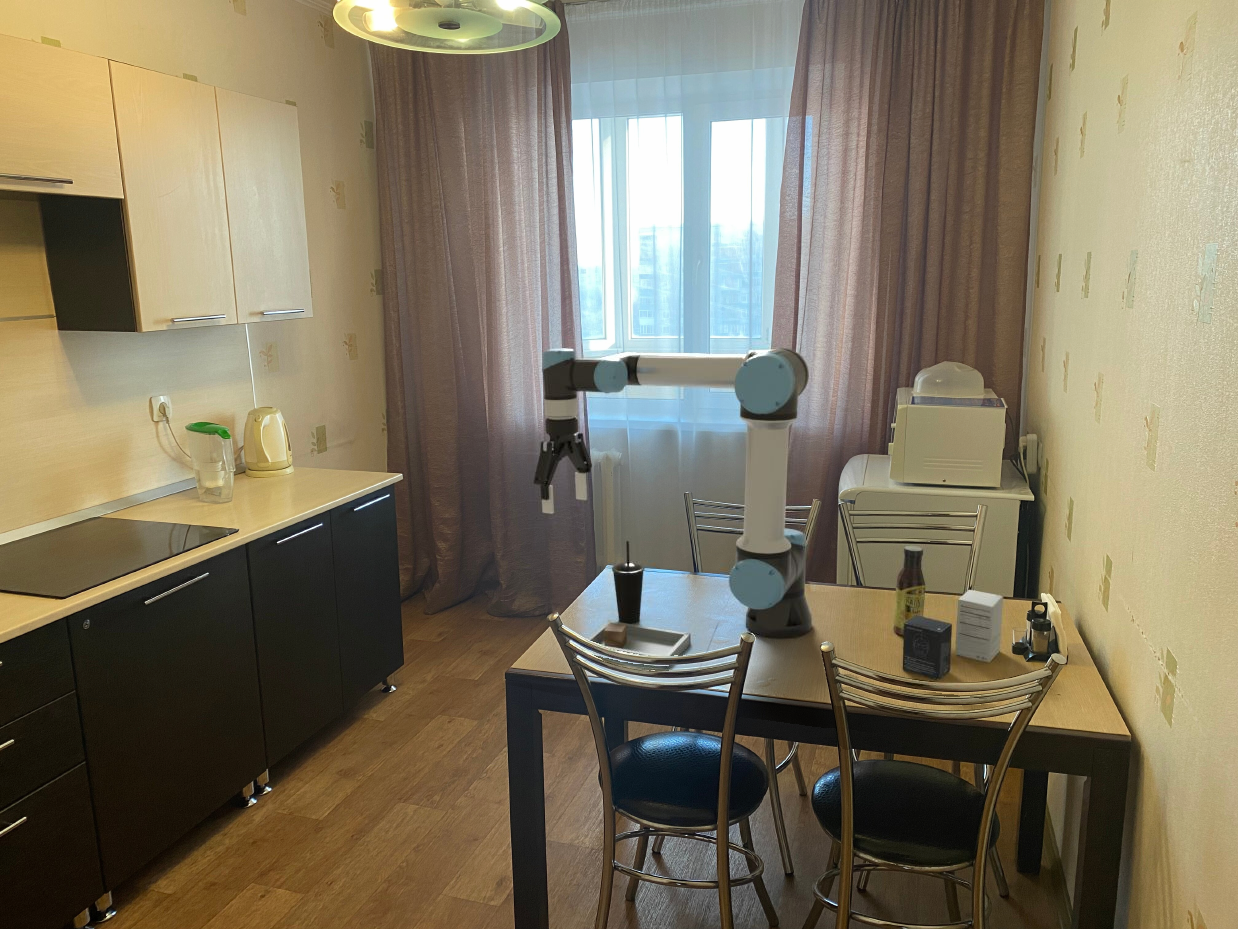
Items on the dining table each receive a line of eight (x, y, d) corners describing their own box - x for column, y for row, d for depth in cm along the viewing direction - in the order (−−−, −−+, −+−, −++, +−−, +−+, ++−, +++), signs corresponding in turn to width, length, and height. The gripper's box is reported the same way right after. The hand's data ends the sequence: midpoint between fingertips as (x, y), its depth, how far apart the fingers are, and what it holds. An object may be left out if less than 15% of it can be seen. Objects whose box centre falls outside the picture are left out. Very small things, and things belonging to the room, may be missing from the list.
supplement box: (965, 643, 197) (969, 588, 194) (1000, 651, 193) (1004, 595, 190) (953, 654, 192) (957, 598, 189) (989, 663, 187) (993, 606, 184)
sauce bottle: (905, 639, 200) (909, 554, 195) (887, 629, 205) (890, 546, 201) (929, 634, 202) (933, 550, 198) (910, 625, 208) (914, 542, 203)
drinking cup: (642, 629, 209) (640, 547, 204) (610, 627, 210) (608, 545, 206) (648, 617, 216) (646, 537, 212) (616, 615, 217) (614, 536, 213)
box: (950, 671, 184) (953, 623, 181) (938, 681, 180) (941, 631, 177) (913, 661, 189) (916, 613, 187) (901, 670, 185) (903, 622, 183)
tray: (690, 645, 199) (690, 633, 199) (666, 671, 187) (666, 658, 186) (609, 632, 208) (608, 620, 207) (581, 656, 195) (580, 643, 195)
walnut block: (626, 641, 201) (626, 624, 200) (622, 649, 197) (621, 631, 196) (609, 640, 202) (609, 623, 201) (604, 647, 198) (604, 630, 197)
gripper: (578, 407, 219) (581, 492, 224) (514, 424, 198) (519, 517, 203) (604, 409, 215) (607, 495, 220) (542, 426, 195) (546, 520, 199)
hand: (565, 506), depth 211 cm, fingers open, 13 cm apart
